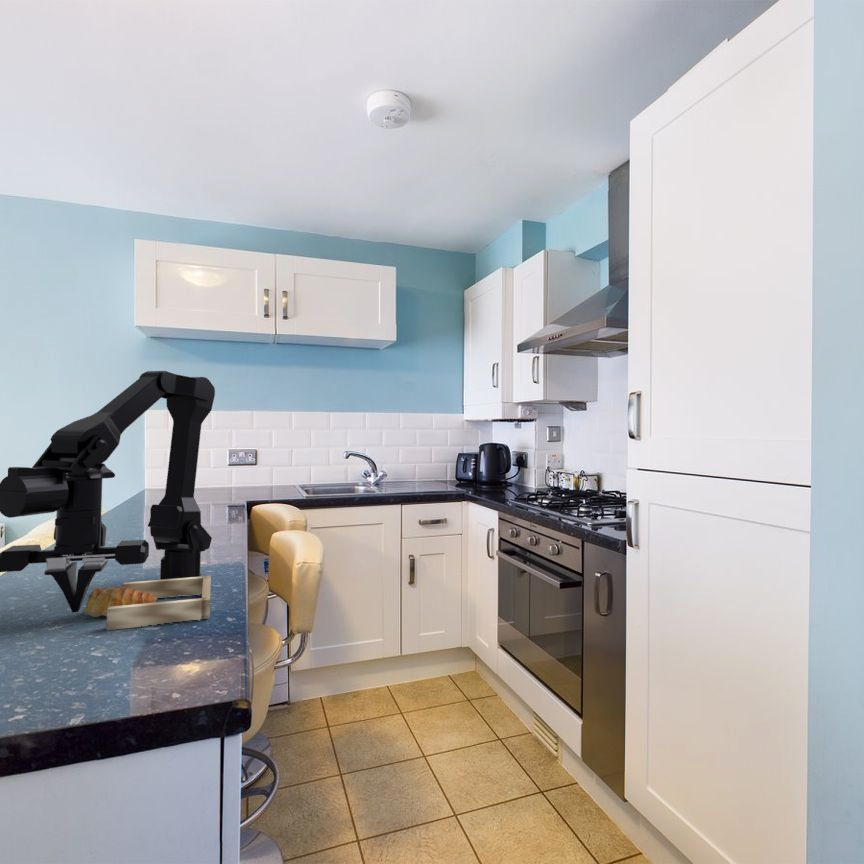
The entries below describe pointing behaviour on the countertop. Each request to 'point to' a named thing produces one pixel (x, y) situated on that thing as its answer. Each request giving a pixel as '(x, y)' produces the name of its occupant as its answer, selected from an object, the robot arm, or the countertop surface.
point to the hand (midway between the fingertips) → (76, 611)
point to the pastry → (115, 599)
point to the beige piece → (163, 603)
